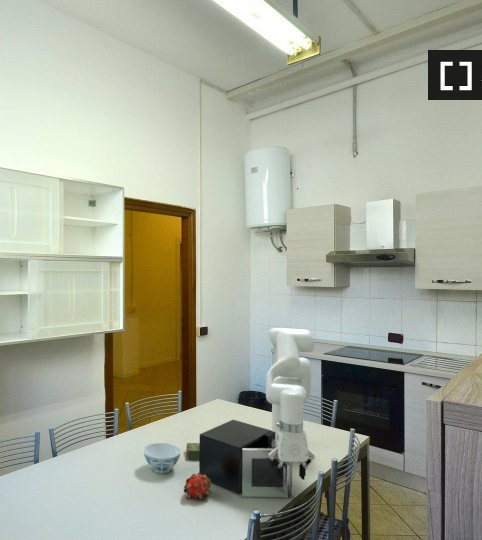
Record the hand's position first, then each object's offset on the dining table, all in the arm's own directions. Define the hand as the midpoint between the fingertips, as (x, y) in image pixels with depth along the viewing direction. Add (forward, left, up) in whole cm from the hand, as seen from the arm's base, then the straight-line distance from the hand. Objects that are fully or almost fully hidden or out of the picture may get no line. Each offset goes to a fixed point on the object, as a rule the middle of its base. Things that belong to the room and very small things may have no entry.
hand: (291, 477), depth 149 cm
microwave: (-5, -24, -9) cm, 26 cm away
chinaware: (+12, -49, -9) cm, 51 cm away
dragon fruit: (+19, -26, -9) cm, 34 cm away
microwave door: (+3, -6, -9) cm, 12 cm away
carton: (-11, -44, -9) cm, 46 cm away
